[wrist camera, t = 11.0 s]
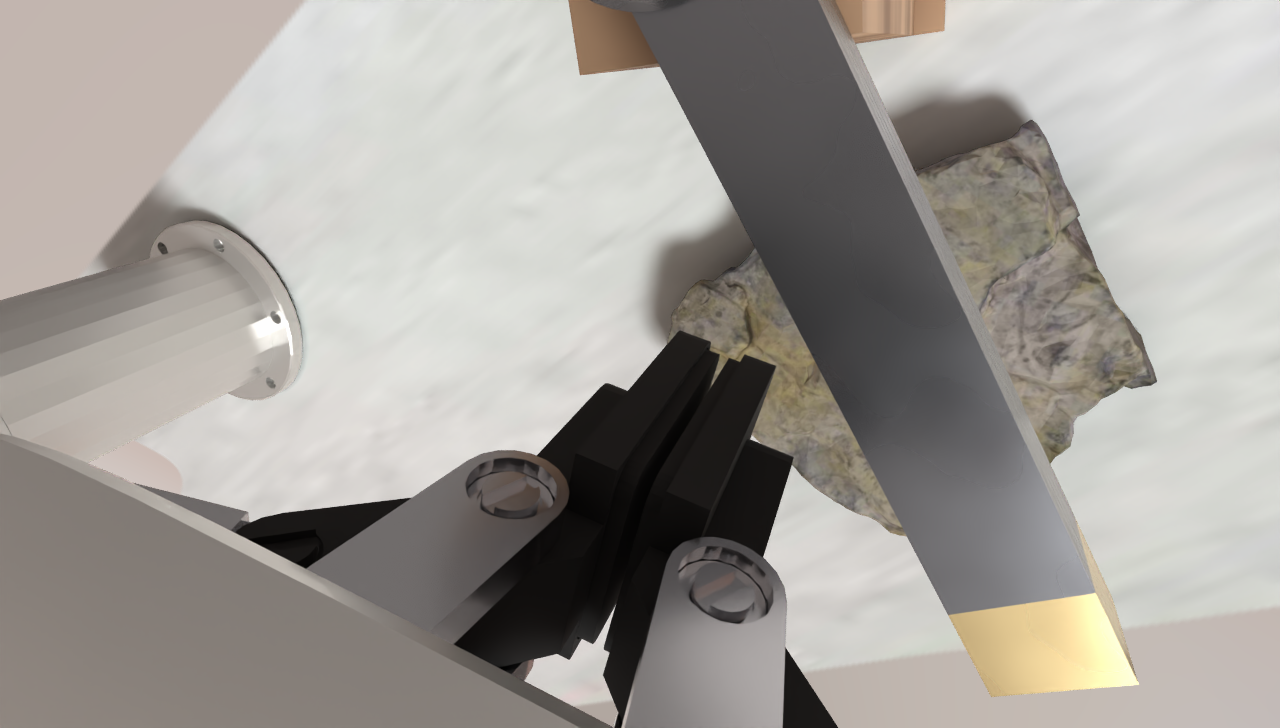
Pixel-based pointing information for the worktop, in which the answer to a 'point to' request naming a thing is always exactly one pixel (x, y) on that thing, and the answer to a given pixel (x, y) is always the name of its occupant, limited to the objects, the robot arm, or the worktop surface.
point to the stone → (1003, 291)
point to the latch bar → (892, 329)
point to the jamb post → (613, 41)
